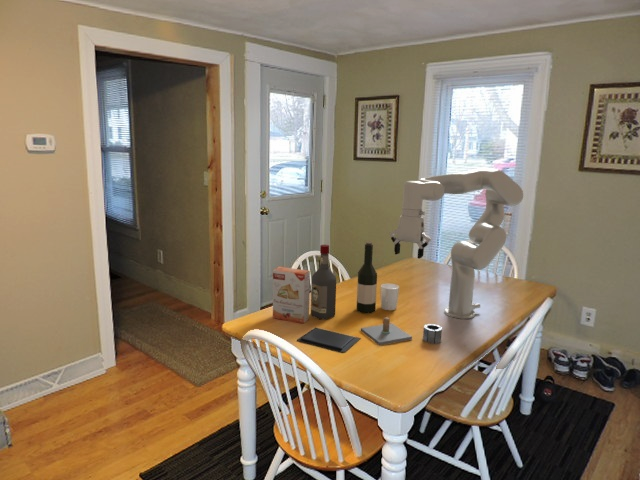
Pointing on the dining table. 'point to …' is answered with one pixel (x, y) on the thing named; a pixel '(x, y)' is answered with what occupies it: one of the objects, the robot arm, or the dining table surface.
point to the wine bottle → (367, 283)
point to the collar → (432, 333)
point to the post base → (386, 333)
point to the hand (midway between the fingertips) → (408, 255)
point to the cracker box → (291, 294)
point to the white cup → (389, 296)
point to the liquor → (323, 288)
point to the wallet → (329, 340)
